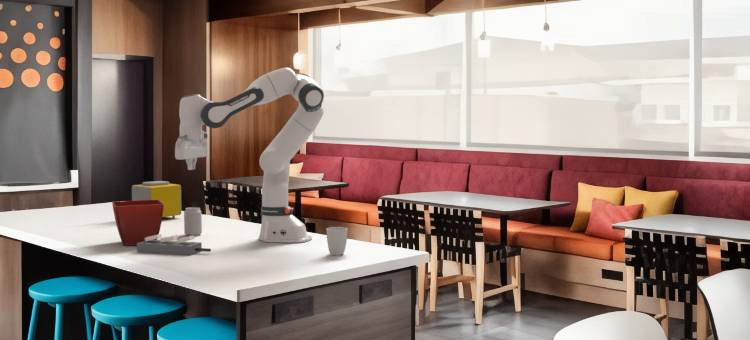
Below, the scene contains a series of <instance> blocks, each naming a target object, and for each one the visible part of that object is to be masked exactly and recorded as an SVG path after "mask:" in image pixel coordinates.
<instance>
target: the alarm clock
mask: <svg viewBox="0 0 750 340" xmlns="http://www.w3.org/2000/svg"><path fill="white" fill-rule="evenodd" d="M136 200H160V201H161V202H162V203H163V204H164V209H163V216H162V218H166V217H172V219H173V218H174V219H175V217H176V216H181V215H182V186H181V184H179V183H178V184H176V183H170V181H168V180H167V181H166V180H165V181H163V180H155V181H143V182H142V183H141V184H133V185H132V186H131V201H136Z"/></svg>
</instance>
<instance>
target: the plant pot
mask: <svg viewBox="0 0 750 340" xmlns="http://www.w3.org/2000/svg"><path fill="white" fill-rule="evenodd" d="M163 209H164V204H163V203H162V202H161V201H160V200H136V201H132V200H121V201H120V200H119V201H112V210H113V214H114V221H115V224H116V228H117V232H118V234H119V237H120V240H121V241H120V242H121V243H122V244H123V246H137V243H139V242H143V241H145V238H146V237H149V236H154V235H158V234H160V231H161V226H162V221H163V217H162V216H163ZM154 240H158V239H154Z"/></svg>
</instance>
